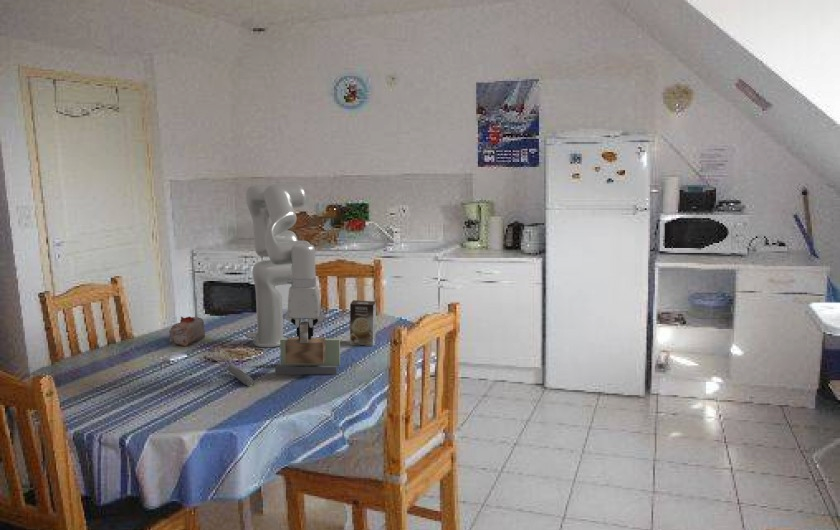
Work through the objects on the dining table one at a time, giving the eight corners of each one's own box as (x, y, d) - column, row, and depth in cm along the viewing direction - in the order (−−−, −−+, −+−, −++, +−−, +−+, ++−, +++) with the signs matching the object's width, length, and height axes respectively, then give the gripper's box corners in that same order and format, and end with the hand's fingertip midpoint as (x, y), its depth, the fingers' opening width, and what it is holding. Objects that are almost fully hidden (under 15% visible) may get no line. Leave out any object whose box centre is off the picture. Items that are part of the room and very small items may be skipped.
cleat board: (275, 374, 218) (274, 347, 216) (281, 363, 228) (280, 338, 226) (336, 374, 218) (336, 347, 216) (340, 364, 228) (339, 338, 227)
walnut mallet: (285, 363, 214) (284, 324, 212) (289, 357, 221) (288, 319, 219) (322, 364, 214) (322, 324, 212) (325, 358, 221) (324, 319, 219)
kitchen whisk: (244, 391, 203) (243, 371, 202) (203, 363, 229) (202, 346, 228) (262, 386, 207) (262, 367, 206) (220, 360, 233) (219, 343, 232)
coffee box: (349, 345, 250) (348, 303, 247) (352, 340, 256) (352, 300, 253) (373, 346, 249) (373, 304, 246) (376, 341, 255) (376, 300, 253)
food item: (187, 348, 246) (185, 322, 244) (168, 346, 248) (166, 320, 246) (207, 338, 259) (206, 313, 257) (189, 336, 261) (187, 312, 259)
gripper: (276, 285, 209) (278, 341, 212) (327, 285, 209) (328, 341, 212) (281, 280, 216) (282, 335, 220) (330, 280, 217) (331, 335, 220)
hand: (305, 337), depth 216 cm, fingers closed on walnut mallet, 2 cm apart
